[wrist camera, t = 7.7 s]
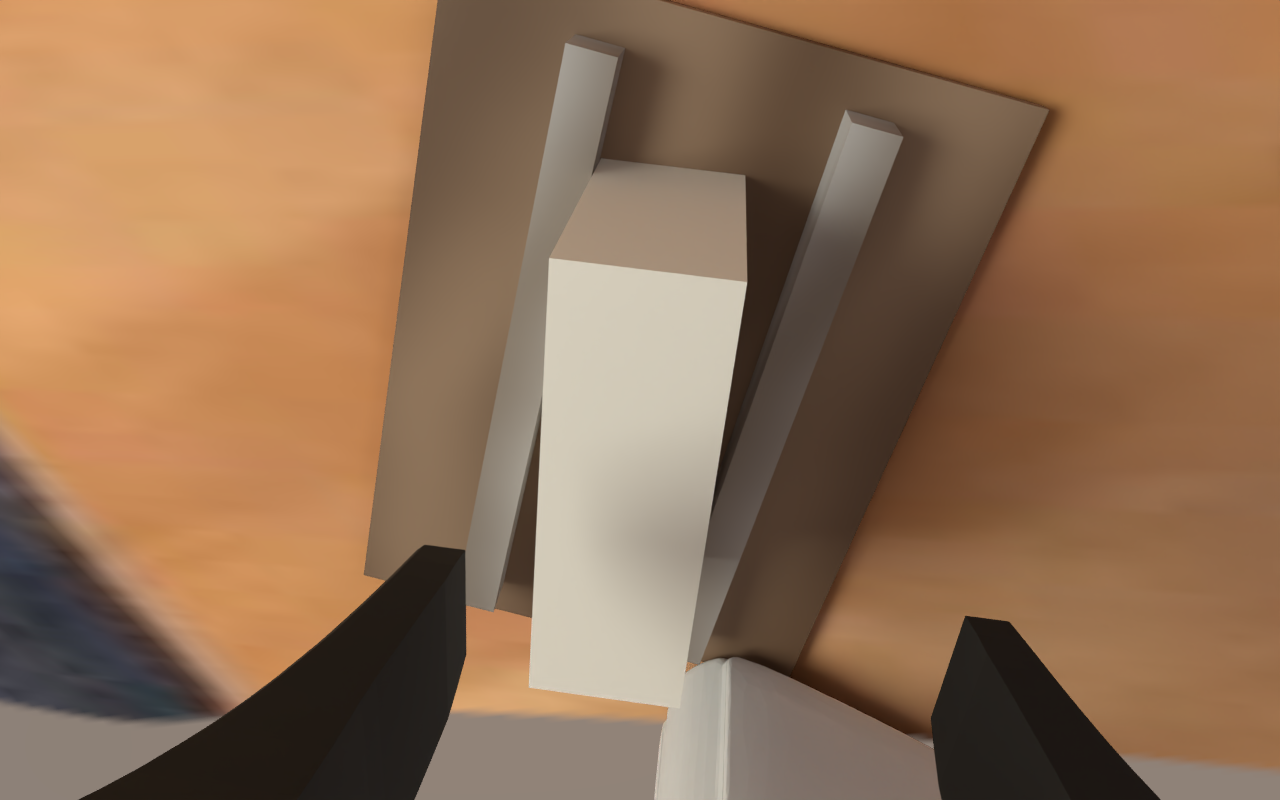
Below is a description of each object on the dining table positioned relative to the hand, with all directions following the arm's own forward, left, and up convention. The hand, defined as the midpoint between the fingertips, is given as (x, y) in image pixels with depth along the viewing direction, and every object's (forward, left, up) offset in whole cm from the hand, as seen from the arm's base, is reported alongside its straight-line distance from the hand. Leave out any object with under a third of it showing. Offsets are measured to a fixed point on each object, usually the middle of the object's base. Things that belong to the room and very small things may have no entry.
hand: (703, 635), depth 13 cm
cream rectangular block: (+1, 0, -9) cm, 9 cm away
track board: (+1, +1, -9) cm, 9 cm away
